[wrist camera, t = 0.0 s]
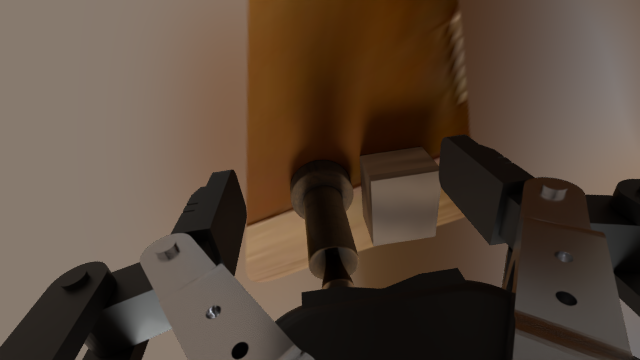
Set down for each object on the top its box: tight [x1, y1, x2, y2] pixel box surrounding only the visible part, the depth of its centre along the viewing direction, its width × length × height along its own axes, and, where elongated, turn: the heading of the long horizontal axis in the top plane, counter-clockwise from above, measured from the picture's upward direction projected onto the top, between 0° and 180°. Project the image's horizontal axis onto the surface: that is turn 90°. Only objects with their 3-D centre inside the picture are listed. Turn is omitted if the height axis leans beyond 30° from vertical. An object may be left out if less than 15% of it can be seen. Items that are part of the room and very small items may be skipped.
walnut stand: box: [360, 147, 441, 246], centre depth 31 cm, size 8×6×5 cm
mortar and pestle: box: [290, 160, 359, 289], centre depth 25 cm, size 7×6×18 cm
